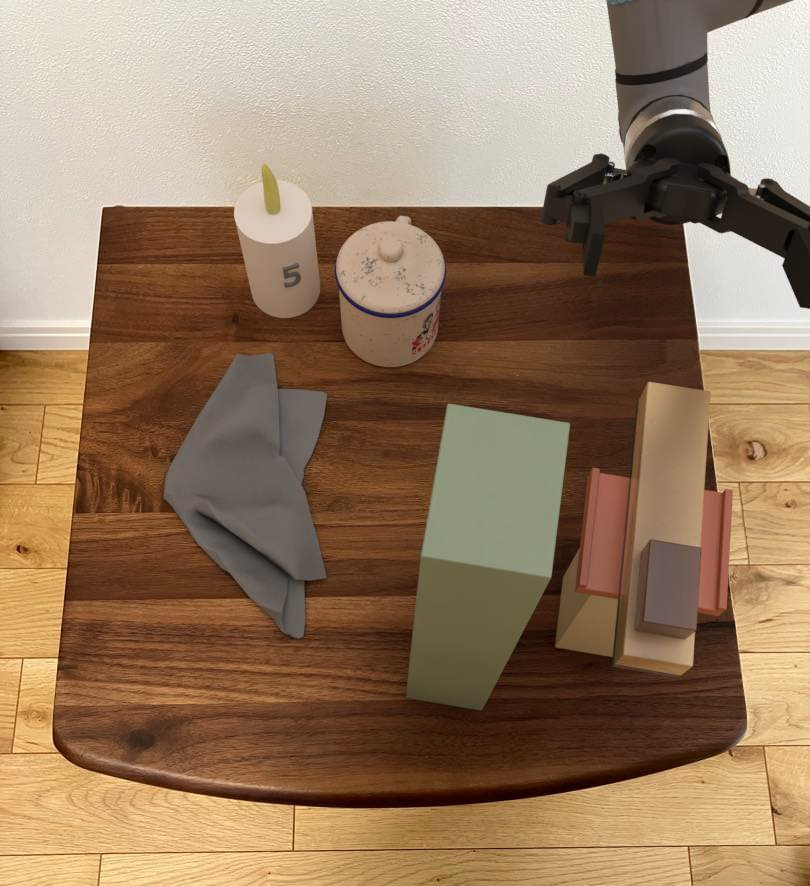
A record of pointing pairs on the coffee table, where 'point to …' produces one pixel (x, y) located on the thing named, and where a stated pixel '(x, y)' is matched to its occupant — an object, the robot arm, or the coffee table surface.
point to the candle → (278, 246)
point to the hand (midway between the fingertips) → (703, 272)
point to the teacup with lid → (390, 292)
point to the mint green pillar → (484, 550)
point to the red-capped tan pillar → (600, 557)
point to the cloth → (253, 486)
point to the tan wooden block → (663, 532)
